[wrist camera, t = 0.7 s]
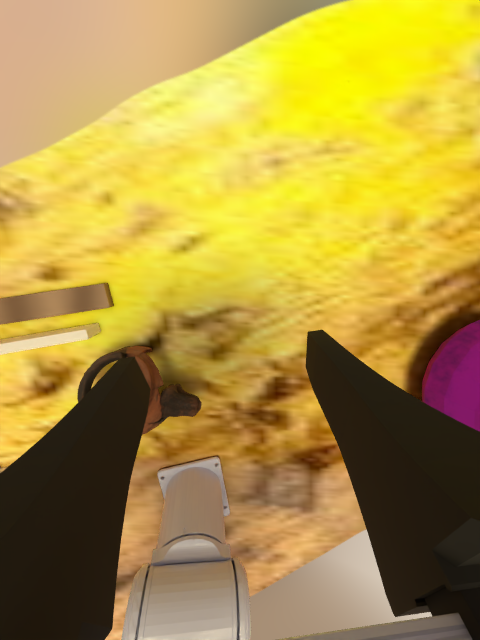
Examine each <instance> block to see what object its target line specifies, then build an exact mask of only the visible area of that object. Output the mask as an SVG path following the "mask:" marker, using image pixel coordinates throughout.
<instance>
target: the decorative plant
mask: <svg viewBox="0 0 480 640" xmlns="http://www.w3.org/2000/svg"><path fill="white" fill-rule="evenodd" d="M422 402H424V403H426V404H427V405H429V406H431V407H433V408H435V409H436V410H438V411H440V412H442V413H444V414H446V415H448V416H450V417H452V418H453V419H455V420H457V421H459V422H461V423H463V424H465V425H467V426H469V427H471V428H473V429H475V430H477V431H480V320H478V321H476V322H473V323H471V324H469V325H467V326H465V327H463V328H461V329H459V330H458V331H456V332H455V333H454V334H453V335H452V336H450V337H449V338H448V339H447V340H445V341H444V342H443V343H442V344H441V345H440V347H439V348H438V350H437V351H436V352H435V354H434V355H433V357H432V358H431V360H430V361H429V363H428V366H427V369H426V372H425V375H424V378H423V381H422Z"/></svg>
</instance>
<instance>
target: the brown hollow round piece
mask: <svg viewBox="0 0 480 640" xmlns="http://www.w3.org/2000/svg"><path fill="white" fill-rule="evenodd" d="M146 352H152V348H149V347H144V346H133V347H130V346H129V347H124V348H122V349H119V350H117V351H115V352H112V353H109V354H107V355H104V356H102V357H100V358H99V359H97V360H96V361H95V362H94V363H93V364H92V365H91V367H90V368H88V370H87V371H86V372H85V373H84V376H83V378H82V380H81V382H80V385H79V389H78V403H79V402H80V401H81V399H82V398H83V397H84V396H85V395H86V394H87V393H88V392H89V391H90V390H91V386H92V383H93V381H94V379H95V377H96V376H97V374H98V373H99V372H100V370H101V369H102V368H104V367H105V366H106V365H107V364H109V363H111V362H114V361H117V360H119V359H120V358H126V357H134V356H135V358H136V360H137V362H138V364H139V366H140V368H141V370H142V372H143V374H144V377H145V379H146V381H147V383H148V385H149V387H150V389H151V390H150V399H149V406H148V413H147V417H146V421H145V425H144V429H143V432H142V434H145V433H147V432H149V431H150V430H152V429H154V428H155V427H157V426H158V425H159V424H161V423H162V422H163V421H164V420H165V419H166V418H167V417H169V416H171V417H178V416H191V417H193V416H195V415H196V414H197V413H198V411H200V409H201V401H200V400H199V398H198V397H197V396H195V395H192V394H189V393H187V392H185V391H184V390H183V389H182V387H181V385H180V384H176V385H174V384H172V385H169V386H168V387H166V388H165V389H164V390H163V392H162V394H161V395H160V393H159V391H158V388H159V387H161V386H163V380H162V378H161V375H160V373H159V370H158V368H157V367H156V366H155V364H154V362H153V361H152V359H151V358H150V357H149V356H148V355H147V354H145V353H146Z"/></svg>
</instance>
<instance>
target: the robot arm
mask: <svg viewBox="0 0 480 640" xmlns="http://www.w3.org/2000/svg"><path fill="white" fill-rule="evenodd" d="M306 369H307V373H308V376H309V379H310V382H311V385H312V388H313V391H314V393H315V395H316V397H317V399H318V402H319V404H320V406H321V408H322V410H323V413H324V415H325V417H326V419H327V421H328V423H329V426H330V428H331V430H332V432H333V434H334V436H335V439H336V441H337V443H338V446H339V448H340V451H341V454H342V457H343V459H344V462H345V465H346V468H347V471H348V474H349V476H350V479H351V482H352V485H353V488H354V491H355V494H356V497H357V500H358V503H359V506H360V510H361V513H362V516H363V519H364V522H365V525H366V529H367V531H368V535H369V538H370V541H371V545H372V548H373V551H374V555H375V558H376V562H377V565H378V568H379V572H380V575H381V578H382V582H383V586H384V589H385V593H386V596H387V598H388V601H389V604H390V606H391V609H392V611H393V614H394V616H395V617H398V616H404V615H411V614H418V613H424V612H431V614H432V617H426V618H419V619H412V620H405V621H398V622H393V623H385V624H378V625H371V626H365V627H358V628H351V629H345V630H338V631H332V632H324V633H317V634H311V635H305V636H298V637H290V638H285V639H277V640H480V431H477V430H475V429H473V428H471V427H469V426H467V425H465V424H463V423H461V422H459V421H457V420H455V419H453V418H452V417H450V416H448V415H446V414H444V413H442V412H440V411H438V410H436V409H435V408H433V407H431V406H429V405H427V404H426V403H424V402H422V401H420V400H419V399H417V398H415V397H414V396H412V395H410V394H409V393H407V392H405V391H404V390H402V389H400V388H399V387H397V386H396V385H394V384H393V383H391V382H390V381H388V380H387V379H385V378H384V377H382V376H381V375H379V374H378V373H377V372H375V371H374V370H372V369H371V368H370V367H368V366H367V365H366V364H364V363H363V362H362V361H360V360H359V359H358V358H356V357H355V356H354V355H353V354H351V353H350V352H349V351H348V350H346V349H345V348H344V347H343V346H341V345H340V344H339V343H338V342H337V341H335V340H334V339H333V338H332V337H331V336H329V335H328V334H327V333H326V332H325V331H323V330H317V331H310V332H308V336H307V353H306ZM150 390H151V389H150V387H149V385H148V383H147V381H146V379H145V377H144V374H143V372H142V370H141V368H140V366H139V364H138V362H137V360H136V358H135V356H134V357H127V358H120V359H119V360H118V361H117V362H116V363H115V364H114V365H113V366H112V367H111V368H110V369H109V370H108V371H107V373H106V374H105V375H104V376H103V377H102V378H101V379H100V380H99V381H98V382H97V383H96V385H95V386H94V387H93V388H92V389H91V390H90V391H89V392H88V393H87V394H86V395H85V396H84V397H83V398H82V399H81V401H80V402H79V403H78V404H77V405H76V406H75V407H74V408H73V409H72V410H71V411H70V412H69V413H68V414H67V415H66V416H65V417H64V418H63V419H62V420H61V421H59V422H58V423H57V424H56V425H55V426H54V427H53V428H52V429H51V430H50V431H49V432H48V433H47V434H46V435H45V436H44V437H43V438H41V439H40V440H39V441H38V442H37V443H36V444H35V445H34V446H32V447H31V448H30V449H29V450H28V451H27V452H26V453H24V454H23V455H22V456H21V457H20V458H18V459H17V460H16V461H15V462H14V463H12V464H11V465H10V466H8V467H7V468H6V469H5V470H3V471H2V472H1V473H0V640H105V638H106V637H107V636H108V634H109V633H110V631H111V629H112V625H113V612H114V600H115V589H116V578H117V569H118V560H119V552H120V543H121V536H122V529H123V522H124V515H125V508H126V502H127V496H128V490H129V484H130V479H131V474H132V470H133V466H134V462H135V458H136V455H137V451H138V447H139V444H140V440H141V436H142V432H143V429H144V425H145V421H146V417H147V413H148V406H149V399H150ZM216 463H218V464H216ZM162 476H163V477H162ZM158 479H159V482H160V486H161V490H162V493H163V497H164V506H163V512H162V518H161V523H160V529H159V535H158V541H157V547H156V549H154V550H153V555H152V560H151V566H150V564H143V565H142V567H141V569H140V570H139V571H138V572H137V573H136V575H135V577H134V580H133V584H132V587H131V592H130V596H129V600H128V605H127V610H126V616H125V621H124V627H123V633H122V639H121V640H251V614H250V598H249V588H248V581H247V575H246V571H245V568H244V566H243V564H242V563H241V562H240V560H239V558H238V557H233V558H232V559H231V552H230V545H229V544H226V538H225V526H224V516H227V515H229V514H230V509H229V504H228V499H227V494H226V489H225V484H224V479H223V474H222V469H221V464H220V459H219V457H211V458H207V459H203V460H199V461H195V462H190V463H186V464H182V465H178V466H173V467H169V468H165V469H161V470H159V471H158Z"/></svg>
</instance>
